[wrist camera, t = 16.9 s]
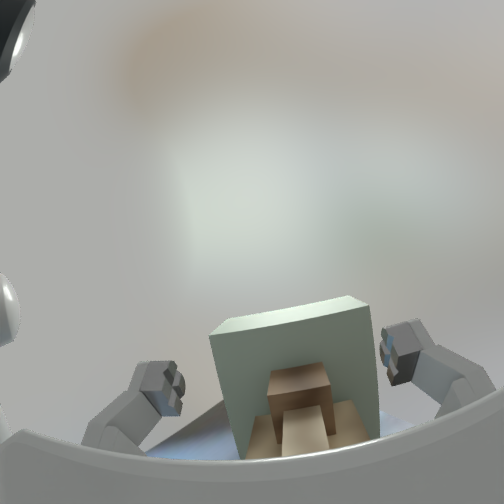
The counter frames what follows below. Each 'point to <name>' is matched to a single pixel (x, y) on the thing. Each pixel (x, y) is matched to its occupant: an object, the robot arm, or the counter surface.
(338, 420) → the low oak block
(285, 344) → the large sage green box
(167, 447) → the counter surface
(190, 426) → the counter surface
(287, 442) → the walnut handle block
